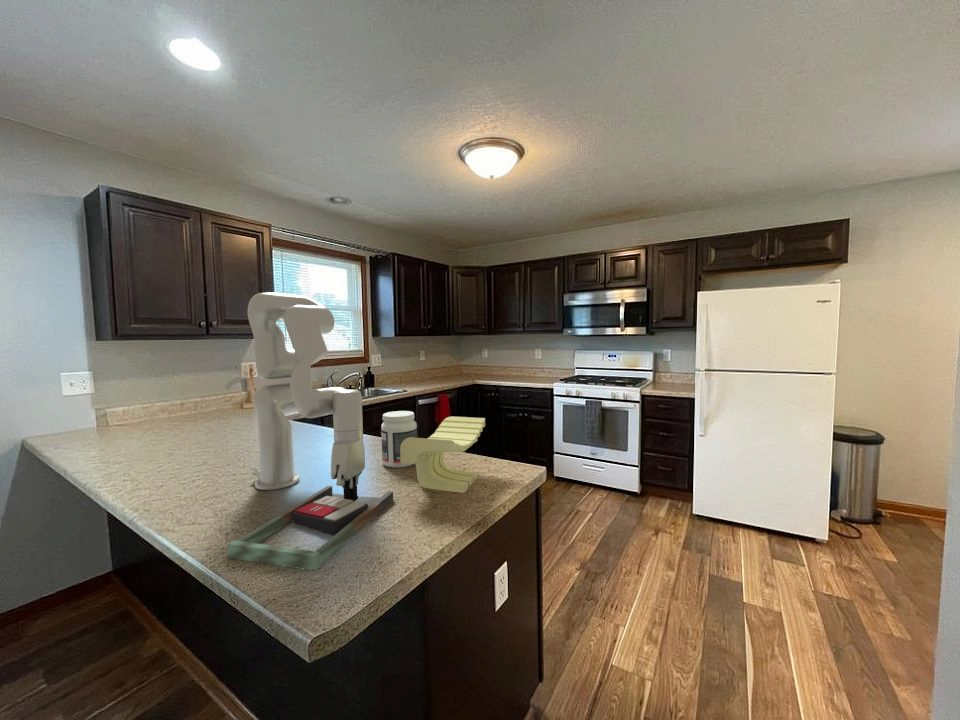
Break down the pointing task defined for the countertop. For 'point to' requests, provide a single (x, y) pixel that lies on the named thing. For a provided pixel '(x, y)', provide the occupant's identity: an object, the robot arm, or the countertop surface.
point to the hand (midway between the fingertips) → (350, 500)
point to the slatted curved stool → (430, 452)
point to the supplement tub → (396, 436)
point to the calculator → (328, 514)
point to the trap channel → (300, 558)
